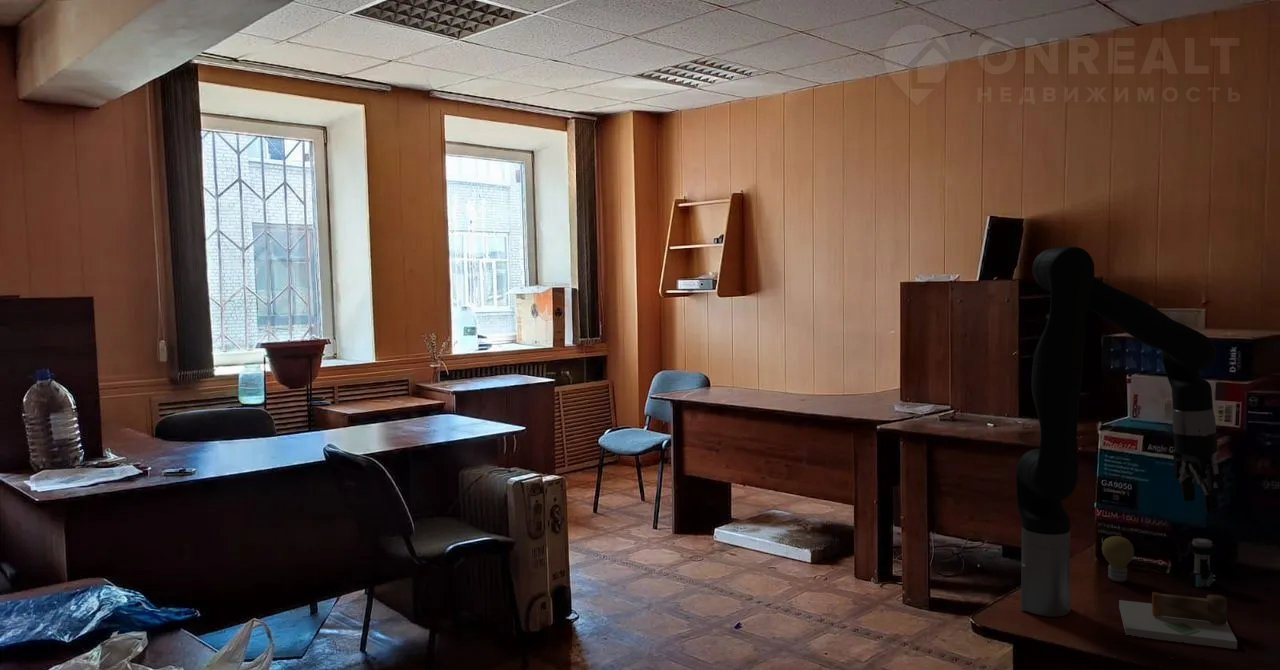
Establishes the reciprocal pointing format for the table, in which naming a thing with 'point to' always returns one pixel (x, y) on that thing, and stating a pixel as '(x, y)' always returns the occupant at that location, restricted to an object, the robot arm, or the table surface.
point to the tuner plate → (1173, 627)
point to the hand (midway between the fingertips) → (1200, 506)
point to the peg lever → (1190, 607)
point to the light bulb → (1117, 556)
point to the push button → (1201, 562)
